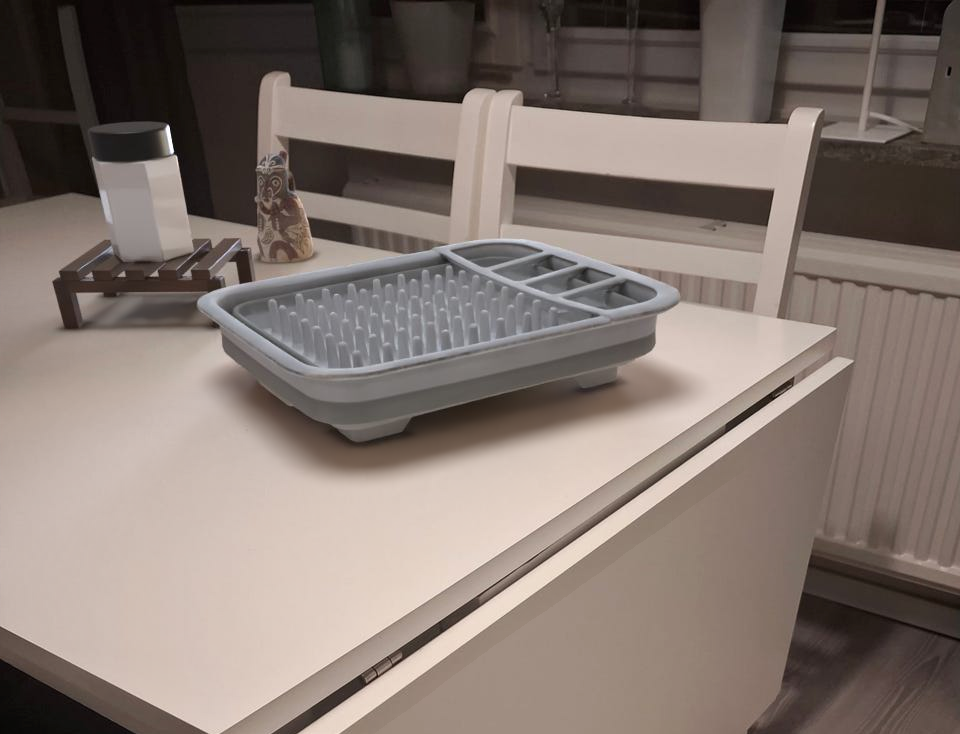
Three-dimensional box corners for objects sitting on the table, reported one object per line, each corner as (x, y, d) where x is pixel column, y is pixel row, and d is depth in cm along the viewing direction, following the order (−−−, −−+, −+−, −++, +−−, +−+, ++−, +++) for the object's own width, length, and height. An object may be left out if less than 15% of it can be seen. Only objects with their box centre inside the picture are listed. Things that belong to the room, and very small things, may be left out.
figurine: (247, 260, 131) (231, 155, 124) (283, 248, 136) (270, 147, 128) (289, 266, 128) (276, 159, 121) (324, 254, 133) (313, 150, 125)
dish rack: (193, 368, 98) (176, 281, 93) (513, 306, 112) (513, 228, 107) (322, 483, 76) (309, 378, 71) (699, 389, 90) (709, 295, 85)
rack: (64, 330, 109) (49, 271, 105) (108, 294, 120) (95, 239, 116) (228, 329, 108) (218, 269, 104) (257, 293, 119) (249, 237, 115)
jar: (204, 244, 113) (182, 120, 106) (184, 262, 106) (159, 132, 99) (125, 245, 113) (98, 121, 106) (101, 263, 107) (70, 133, 100)
